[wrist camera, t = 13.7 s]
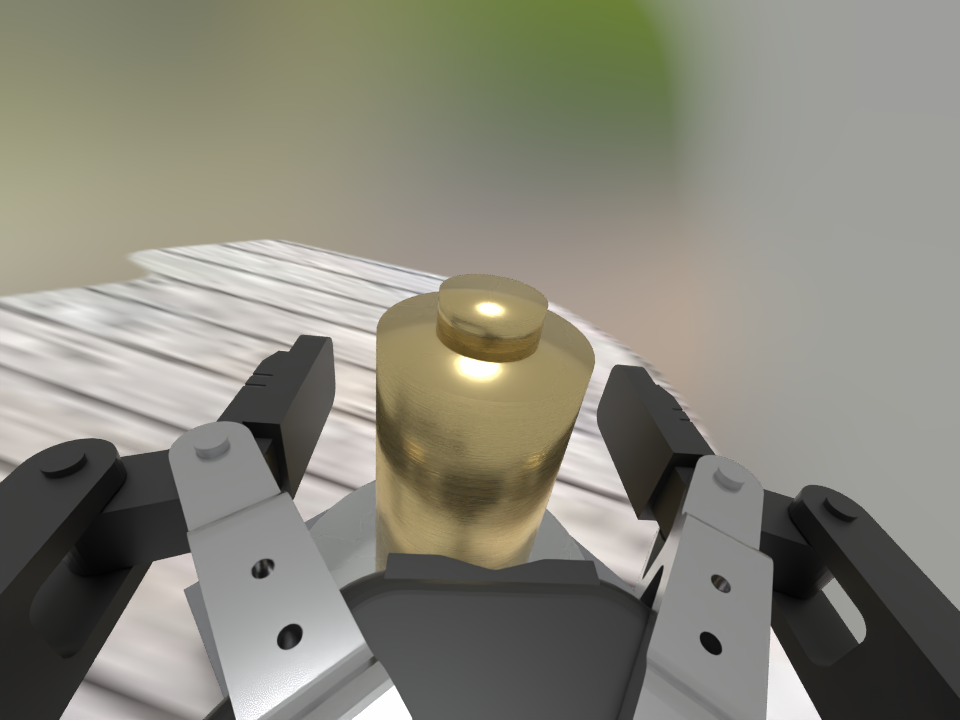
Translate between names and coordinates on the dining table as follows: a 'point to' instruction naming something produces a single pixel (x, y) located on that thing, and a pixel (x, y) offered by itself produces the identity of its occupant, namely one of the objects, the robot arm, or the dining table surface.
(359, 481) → the dining table surface
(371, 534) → the scale pan
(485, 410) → the brass weight
